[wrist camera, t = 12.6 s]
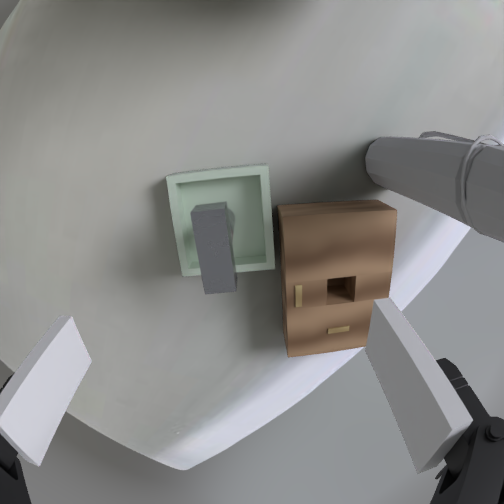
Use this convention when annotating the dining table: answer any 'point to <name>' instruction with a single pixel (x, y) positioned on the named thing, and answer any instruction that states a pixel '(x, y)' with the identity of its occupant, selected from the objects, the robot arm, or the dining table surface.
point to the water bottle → (445, 176)
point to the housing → (333, 271)
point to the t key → (215, 246)
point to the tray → (238, 201)
